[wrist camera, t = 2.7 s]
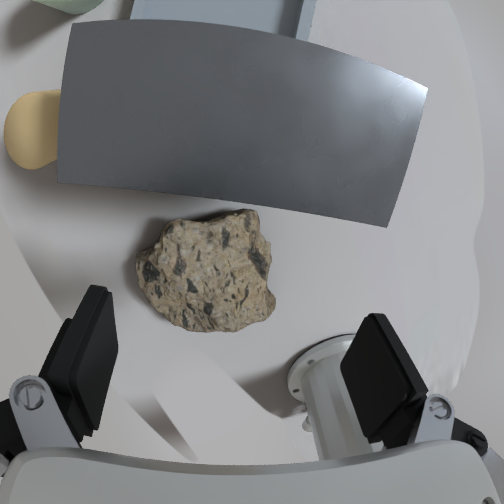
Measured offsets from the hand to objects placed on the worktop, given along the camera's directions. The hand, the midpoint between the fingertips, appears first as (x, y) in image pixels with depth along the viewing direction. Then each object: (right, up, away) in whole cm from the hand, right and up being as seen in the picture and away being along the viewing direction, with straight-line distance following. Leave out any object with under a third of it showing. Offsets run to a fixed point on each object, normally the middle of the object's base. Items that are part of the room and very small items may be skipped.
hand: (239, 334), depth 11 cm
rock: (-4, +2, +15) cm, 16 cm away
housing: (-1, +13, +9) cm, 16 cm away
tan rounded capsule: (-13, +13, +8) cm, 20 cm away
